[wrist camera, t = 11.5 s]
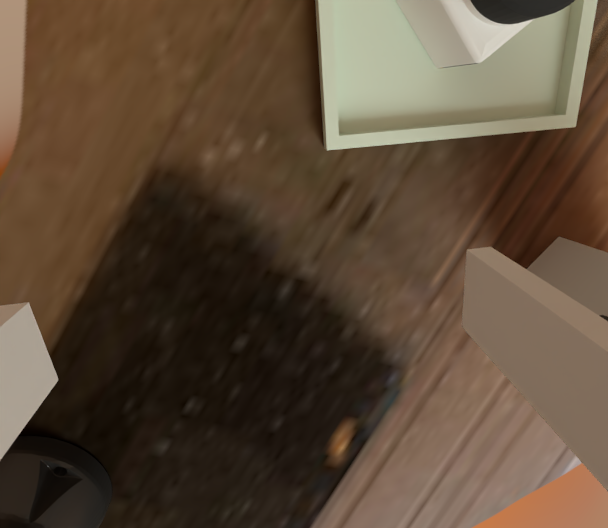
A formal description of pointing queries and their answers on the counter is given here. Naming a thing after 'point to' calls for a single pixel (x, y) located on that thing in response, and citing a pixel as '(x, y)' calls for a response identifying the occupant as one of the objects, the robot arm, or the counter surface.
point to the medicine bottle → (471, 25)
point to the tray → (444, 78)
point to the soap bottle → (576, 273)
